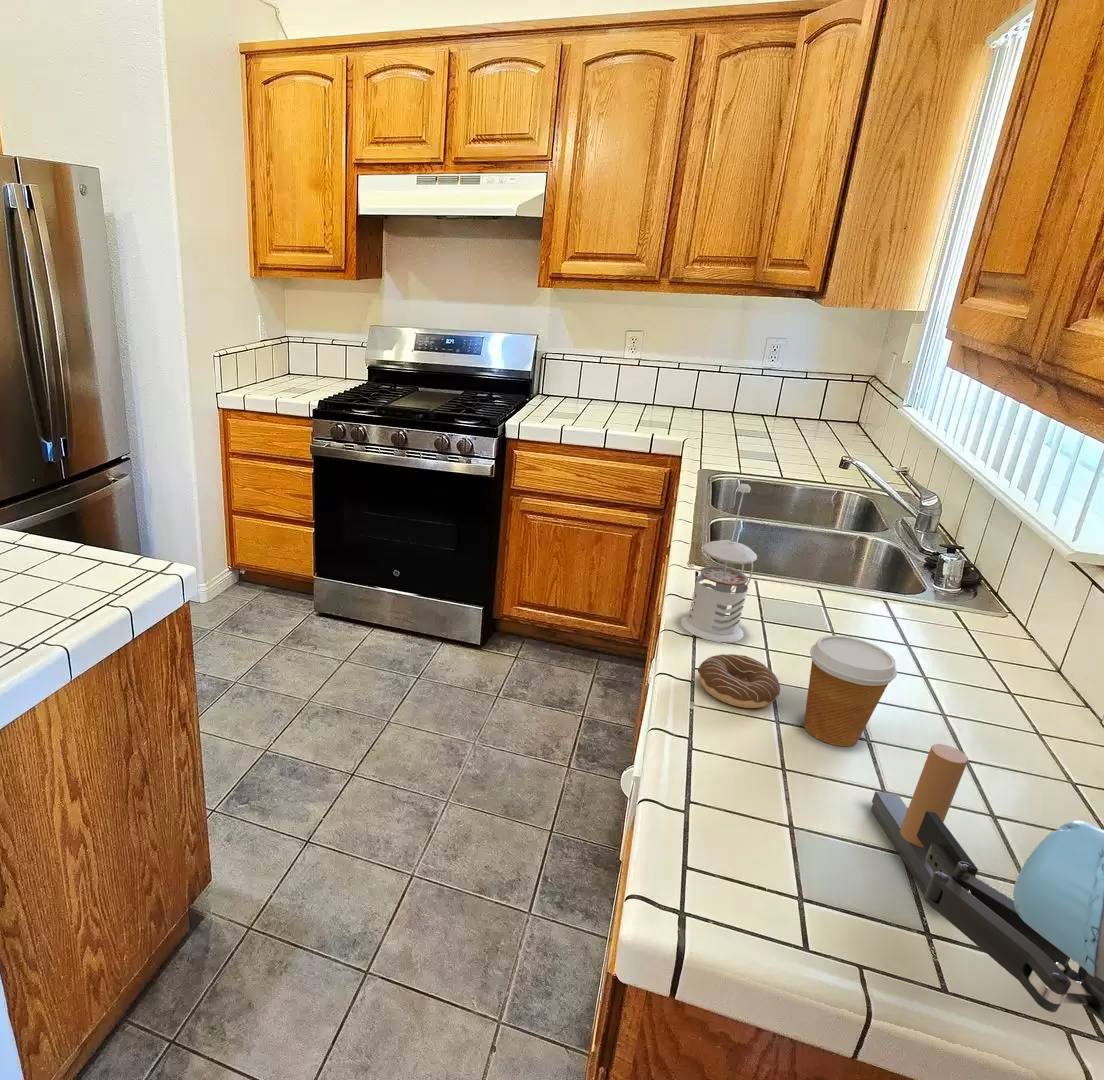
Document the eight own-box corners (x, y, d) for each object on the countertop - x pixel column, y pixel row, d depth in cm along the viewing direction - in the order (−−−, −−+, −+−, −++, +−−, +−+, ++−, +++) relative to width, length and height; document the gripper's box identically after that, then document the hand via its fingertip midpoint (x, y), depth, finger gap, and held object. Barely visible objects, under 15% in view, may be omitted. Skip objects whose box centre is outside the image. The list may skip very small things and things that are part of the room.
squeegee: (894, 812, 85) (930, 714, 80) (961, 913, 72) (1009, 804, 67) (865, 808, 85) (900, 710, 80) (927, 907, 72) (972, 798, 67)
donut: (740, 668, 113) (746, 645, 111) (794, 708, 103) (801, 683, 102) (679, 676, 110) (685, 652, 109) (728, 717, 101) (735, 692, 99)
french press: (668, 622, 126) (697, 479, 117) (710, 607, 132) (741, 470, 123) (720, 647, 119) (756, 497, 109) (762, 631, 125) (800, 487, 116)
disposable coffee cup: (773, 717, 101) (795, 638, 97) (826, 706, 104) (850, 629, 100) (834, 761, 93) (861, 677, 88) (889, 747, 96) (918, 665, 92)
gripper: (976, 1091, 47) (843, 847, 67) (1443, 1182, 44) (1159, 896, 64) (1018, 1007, 45) (867, 778, 64) (1520, 1097, 41) (1199, 826, 61)
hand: (1012, 836), depth 64 cm, fingers open, 13 cm apart
